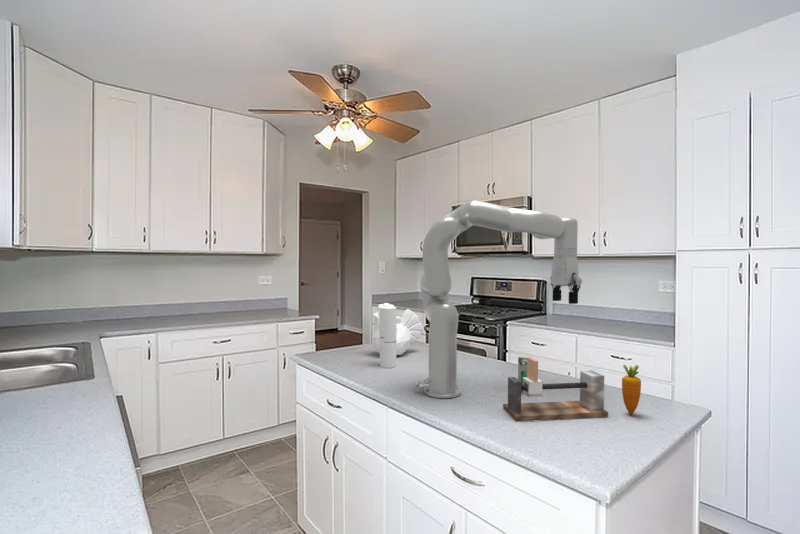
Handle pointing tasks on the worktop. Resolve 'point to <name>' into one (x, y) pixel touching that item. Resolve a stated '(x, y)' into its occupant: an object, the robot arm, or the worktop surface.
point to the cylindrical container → (388, 336)
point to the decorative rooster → (399, 330)
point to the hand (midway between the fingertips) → (564, 302)
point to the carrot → (631, 389)
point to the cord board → (585, 408)
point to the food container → (522, 369)
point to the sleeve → (532, 379)
